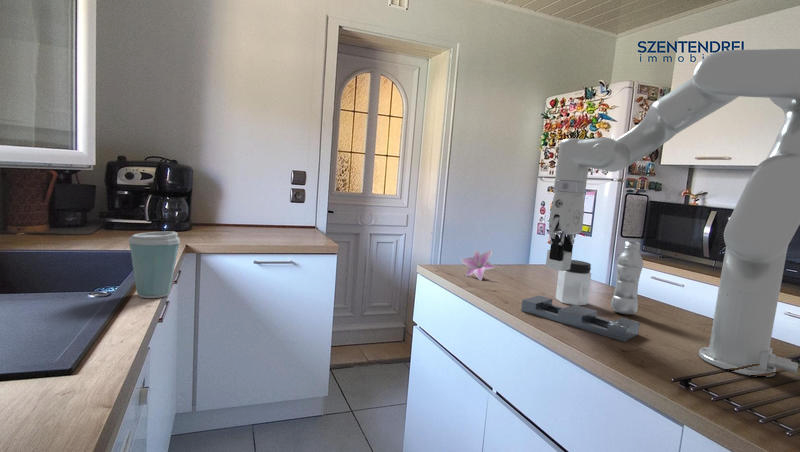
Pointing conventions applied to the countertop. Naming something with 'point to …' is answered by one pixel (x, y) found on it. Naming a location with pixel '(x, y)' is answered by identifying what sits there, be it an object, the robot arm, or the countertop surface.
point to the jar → (574, 284)
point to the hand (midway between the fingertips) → (560, 258)
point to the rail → (581, 318)
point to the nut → (559, 262)
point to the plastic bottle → (627, 279)
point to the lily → (478, 263)
